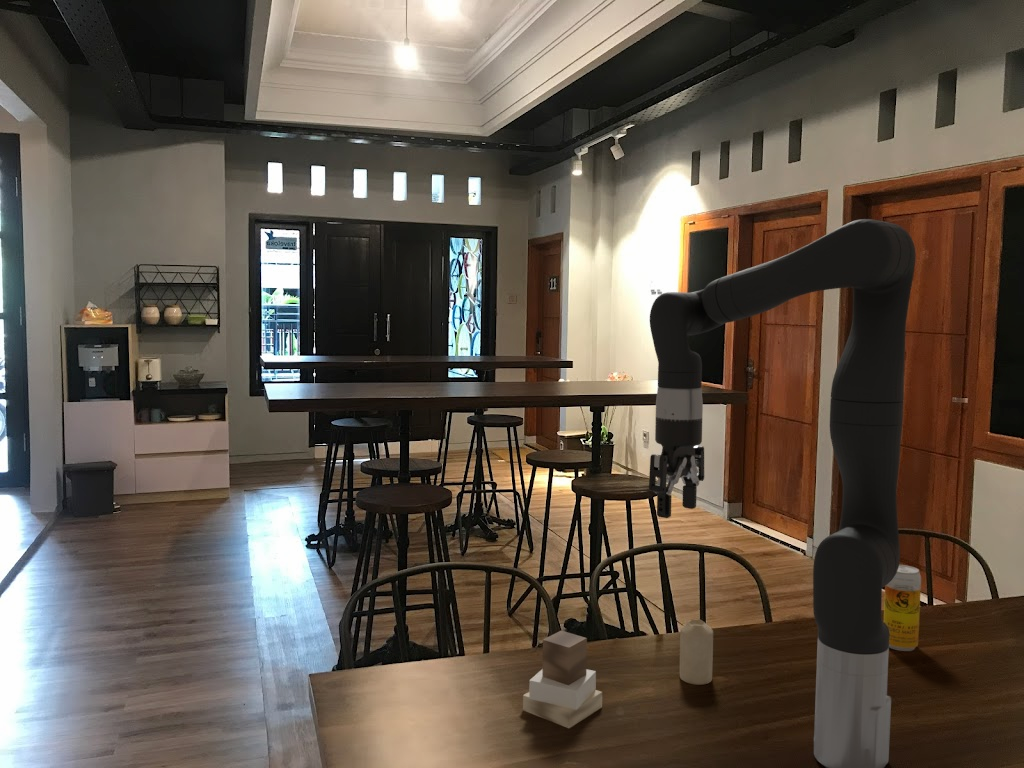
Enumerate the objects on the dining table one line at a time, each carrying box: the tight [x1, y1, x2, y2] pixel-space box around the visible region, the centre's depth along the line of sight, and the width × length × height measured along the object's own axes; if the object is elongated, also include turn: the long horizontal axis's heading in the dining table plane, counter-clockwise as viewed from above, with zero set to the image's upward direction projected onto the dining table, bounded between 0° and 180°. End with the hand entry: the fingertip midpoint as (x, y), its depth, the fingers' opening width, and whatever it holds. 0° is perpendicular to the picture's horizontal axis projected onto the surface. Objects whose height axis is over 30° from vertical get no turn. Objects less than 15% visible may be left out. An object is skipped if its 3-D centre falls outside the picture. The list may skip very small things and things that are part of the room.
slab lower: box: [522, 689, 603, 729], centre depth 133 cm, size 9×9×3 cm
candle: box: [679, 618, 714, 686], centre depth 143 cm, size 6×6×10 cm
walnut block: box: [542, 630, 588, 685], centre depth 132 cm, size 5×5×6 cm
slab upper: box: [528, 668, 597, 710], centre depth 132 cm, size 8×8×3 cm
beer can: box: [883, 564, 922, 652], centre depth 157 cm, size 6×6×15 cm
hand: (676, 512), depth 137 cm, fingers open, 8 cm apart
